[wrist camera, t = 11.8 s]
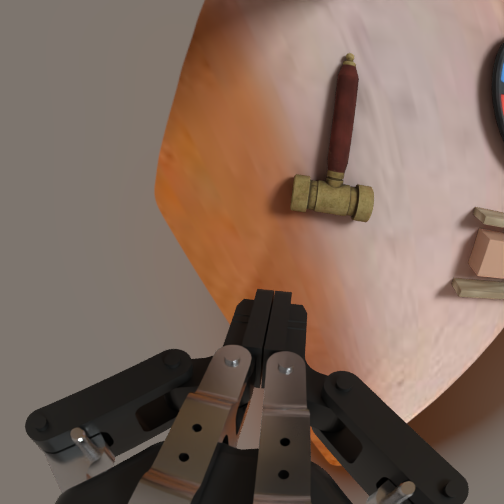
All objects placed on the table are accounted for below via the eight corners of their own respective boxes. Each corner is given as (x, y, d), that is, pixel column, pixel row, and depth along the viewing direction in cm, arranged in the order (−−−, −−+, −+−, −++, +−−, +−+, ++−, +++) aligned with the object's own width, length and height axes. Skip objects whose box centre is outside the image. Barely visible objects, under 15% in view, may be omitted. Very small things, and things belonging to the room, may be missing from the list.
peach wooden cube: (478, 227, 38) (490, 239, 34) (505, 232, 37) (517, 244, 34) (467, 262, 41) (477, 275, 37) (494, 265, 40) (504, 278, 36)
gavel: (309, 42, 29) (394, 59, 28) (308, 50, 33) (385, 65, 32) (289, 214, 38) (369, 227, 37) (290, 204, 42) (362, 216, 41)
